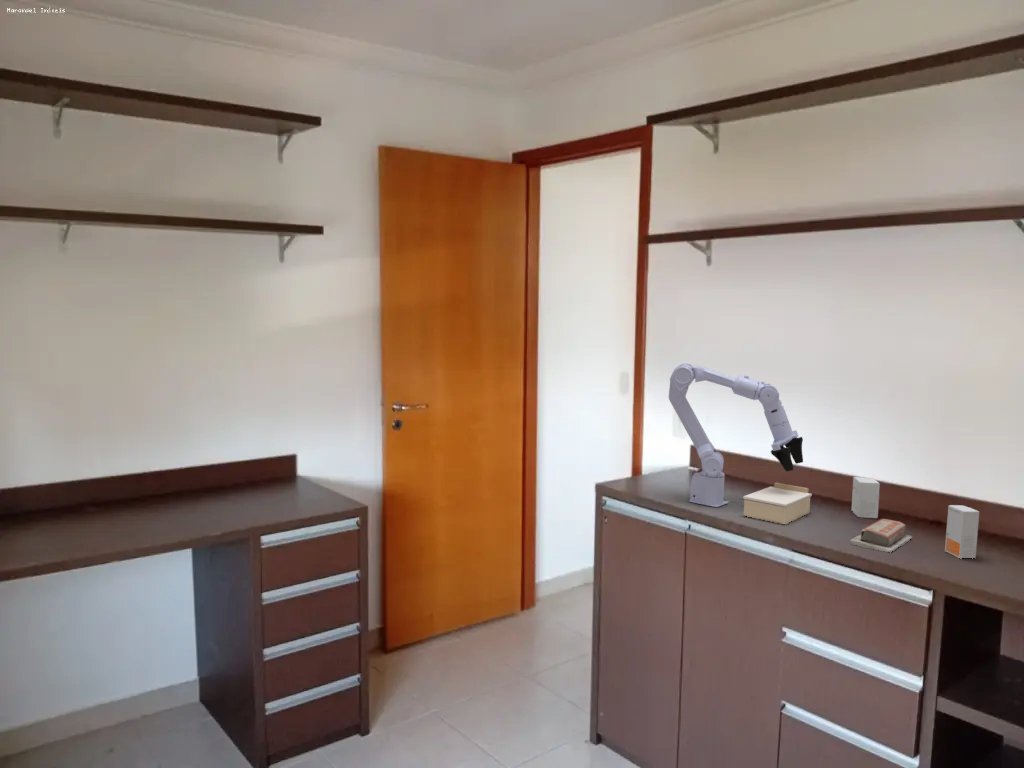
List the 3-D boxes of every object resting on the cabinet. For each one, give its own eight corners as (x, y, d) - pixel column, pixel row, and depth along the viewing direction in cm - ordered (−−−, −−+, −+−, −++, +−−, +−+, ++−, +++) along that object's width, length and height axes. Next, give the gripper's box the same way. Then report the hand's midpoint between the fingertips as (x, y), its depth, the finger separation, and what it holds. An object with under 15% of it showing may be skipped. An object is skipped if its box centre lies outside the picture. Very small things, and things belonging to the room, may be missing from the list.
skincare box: (943, 551, 192) (947, 504, 191) (959, 551, 193) (963, 504, 192) (959, 559, 186) (963, 511, 185) (976, 559, 187) (980, 511, 186)
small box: (877, 519, 222) (880, 483, 221) (857, 517, 223) (859, 482, 222) (870, 512, 230) (873, 477, 229) (850, 510, 231) (853, 476, 230)
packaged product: (874, 515, 209) (914, 522, 203) (873, 532, 210) (912, 540, 203) (850, 527, 196) (892, 536, 189) (849, 545, 197) (890, 555, 190)
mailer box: (743, 516, 221) (744, 499, 221) (770, 505, 235) (770, 489, 234) (784, 525, 213) (785, 507, 213) (809, 513, 227) (810, 496, 226)
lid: (743, 498, 221) (743, 492, 221) (771, 487, 235) (771, 481, 235) (785, 506, 212) (786, 500, 212) (812, 495, 227) (813, 489, 226)
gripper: (781, 426, 220) (798, 471, 220) (800, 414, 230) (816, 456, 230) (759, 432, 225) (775, 475, 224) (779, 419, 235) (794, 461, 235)
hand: (794, 466), depth 228 cm, fingers open, 7 cm apart
